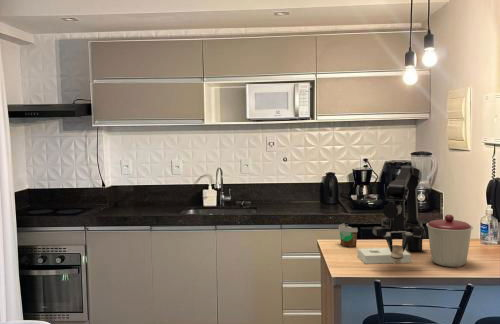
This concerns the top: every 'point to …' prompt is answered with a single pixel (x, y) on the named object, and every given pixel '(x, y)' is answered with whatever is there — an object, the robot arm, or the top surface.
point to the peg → (397, 253)
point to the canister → (449, 241)
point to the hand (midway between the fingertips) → (397, 251)
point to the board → (380, 256)
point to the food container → (348, 236)
